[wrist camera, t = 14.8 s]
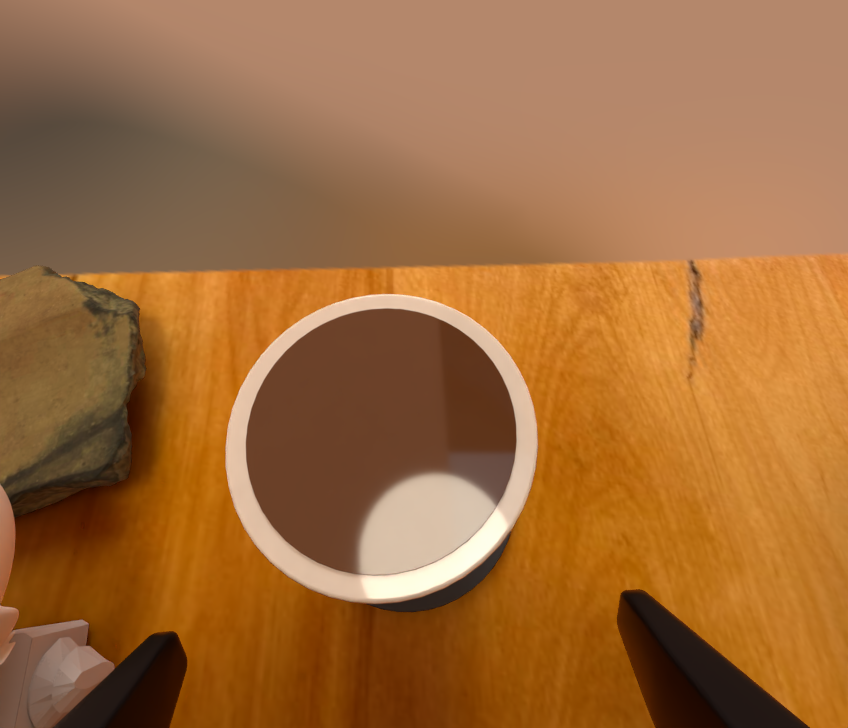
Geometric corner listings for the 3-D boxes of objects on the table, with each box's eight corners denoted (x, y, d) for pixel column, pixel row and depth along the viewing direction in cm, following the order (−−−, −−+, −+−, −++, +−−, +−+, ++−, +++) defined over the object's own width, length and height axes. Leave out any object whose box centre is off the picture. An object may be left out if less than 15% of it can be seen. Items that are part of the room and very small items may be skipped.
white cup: (507, 515, 16) (607, 483, 7) (376, 599, 15) (298, 688, 6) (432, 394, 18) (436, 249, 9) (312, 461, 17) (181, 372, 8)
